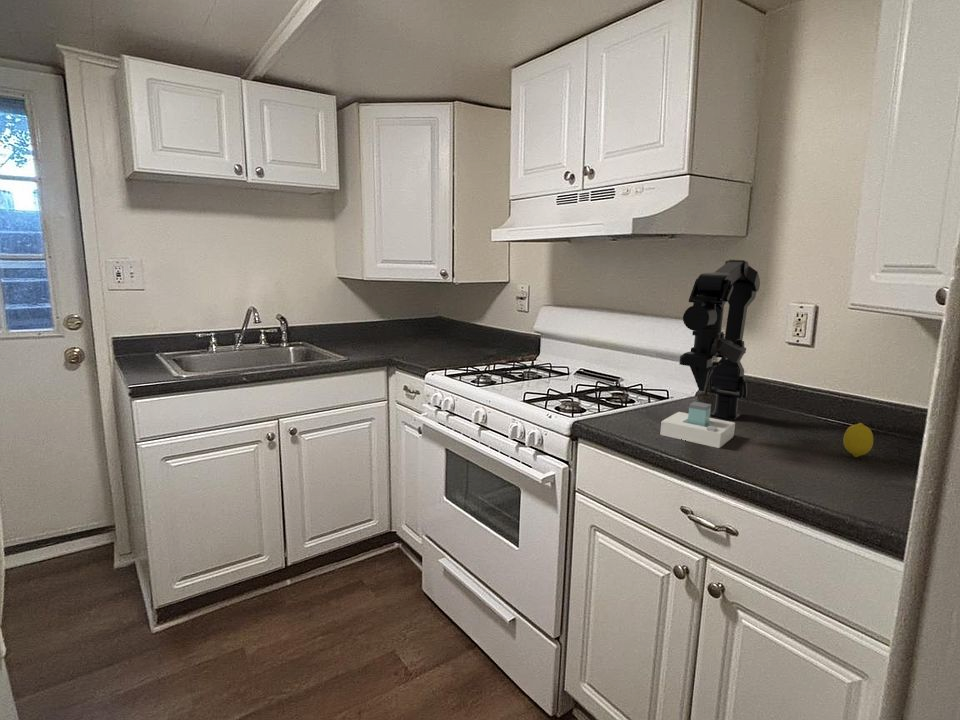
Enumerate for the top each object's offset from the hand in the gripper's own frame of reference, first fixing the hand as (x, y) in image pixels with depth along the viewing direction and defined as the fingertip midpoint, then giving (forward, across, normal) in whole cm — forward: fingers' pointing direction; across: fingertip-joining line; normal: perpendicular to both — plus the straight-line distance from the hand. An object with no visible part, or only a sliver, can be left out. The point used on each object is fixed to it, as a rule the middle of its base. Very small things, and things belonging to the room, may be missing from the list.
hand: (701, 390), depth 135 cm
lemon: (+12, +10, -32) cm, 35 cm away
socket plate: (+11, 0, 0) cm, 11 cm away
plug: (+11, 0, 0) cm, 11 cm away
